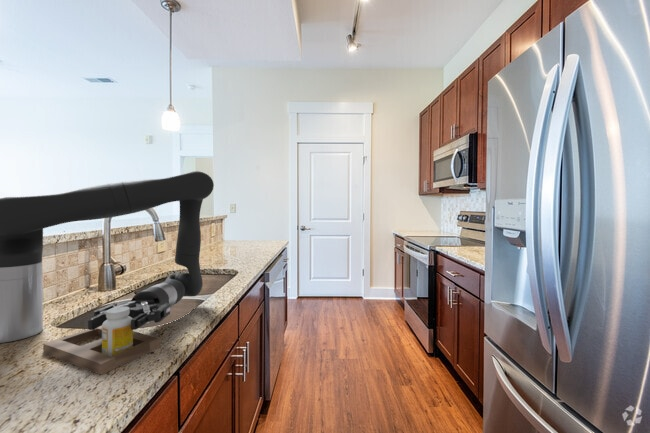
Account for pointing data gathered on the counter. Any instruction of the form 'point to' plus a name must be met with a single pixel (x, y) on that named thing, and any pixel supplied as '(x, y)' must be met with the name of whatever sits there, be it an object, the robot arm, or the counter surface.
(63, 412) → the counter surface
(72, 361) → the brown flat two-opening frame
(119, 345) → the supplement bottle
